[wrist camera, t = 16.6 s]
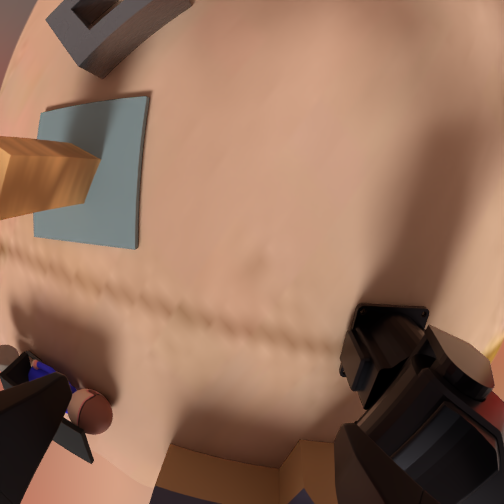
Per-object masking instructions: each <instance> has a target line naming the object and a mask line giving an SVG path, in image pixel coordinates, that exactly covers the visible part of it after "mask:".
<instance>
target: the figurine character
mask: <svg viewBox="0 0 504 504" xmlns="http://www.w3.org/2000/svg"><path fill="white" fill-rule="evenodd" d="M29 356H30V357H31V358H32V359H34V360H33V361H32V367H31V364H30V360H29ZM0 371H1V373H0V379H1V382H2V384H3V388H4V390H5V389H8V388H11V387H14V386H17V385H20V384H23V383H26V382H29V381H31V380H34V379H37V378H40V377H43V376H45V375H48V374H51V373H53V372H56V371H55V370H54V369H53V368H52V367H50V366H48V365H46V364H44V363H42V361H41V360H40V359H39V358H37V357H36V356H35V355H33V354H32V353H31V352H29V351H26V352H23V353H22V354H21V355H20V356H19V354H18V351H17V350H16V349H15V348H14V347H12V346H10V345H0ZM68 382H69V381H68ZM69 385H70V388H71V391H72V399H71V401H70V403H69V405H68V408H67V410H66V412H65V413H67V414H68V416H69V418H70V420H71V422H70V421H68V420H67V419H65V418H64V417H63V419H62V422H61V424H60V426H59V428H58V430H57V432H56V434H55V436H54V438H53V441H55V442H56V443H58V444H59V445H61V446H62V447H64V448H65V449H67V450H69V451H70V452H72V453H73V454H75V455H77V456H78V457H80V458H82V459H84V460H85V461H87V462H89V463H91V464H92V463H93V461H94V459H93V456H92V453H91V450H90V447H89V444H88V441H87V438H86V435H85V433H87V434H92V435H96V434H100V433H103V432H104V431H106V430H107V429H108V428H109V426H110V425H111V422H112V417H113V413H112V409H111V406H110V404H109V402H108V401H107V399H106V398H105V397H104V396H103V395H102V394H100V393H99V392H97V391H95V390H92V389H80V390H78V391H77V390H76V388H75V387H73V386H72V385H71V384H70V382H69Z"/></svg>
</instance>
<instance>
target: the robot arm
mask: <svg viewBox="0 0 504 504" xmlns="http://www.w3.org/2000/svg"><path fill="white" fill-rule="evenodd" d="M362 309H365V311H364V312H362V313H361V312H360V311H361V310H362ZM423 312H424V314H423V315H422V313H423ZM428 316H429V310H428V309H427V308H426V307H420V306H399V305H382V304H366V303H362V304H359V305H358V306H357V308H356V310H355V315H354V319H353V322H352V326H351V329H350V330H349V331H347V334H346V338H345V341H344V345H343V348H342V352H341V355H340V360H341V365H340V368H339V373H340V375H341V376H342V377H347V380H348V383H349V386H350V388H351V390H352V391H358V394H359V397H360V400H361V402H362V405H363V408H364V409H365V410H367V411H366V412H365V413H364V414H363V416H362V417H361V418H360V419H359V420H358V421H355V422H354V423H345V424H342V425H341V427H340V429H339V432H338V434H337V436H336V438H335V441H334V465H335V488H336V495H337V502H338V504H504V402H503V401H502V400H501V399H500V398H499V397H498V396H497V395H496V394H495V393H494V392H493V391H492V389H493V388H494V380H493V375H492V370H491V365H490V361H489V360H488V359H487V358H486V357H485V356H484V355H483V354H481V353H480V352H479V351H478V350H477V349H476V348H474V347H473V346H472V345H471V344H469V343H467V342H465V341H463V340H461V339H459V338H457V337H455V336H453V335H450V334H448V333H446V332H444V331H442V330H440V329H438V328H435V327H433V326H431V325H428V327H427V328H426V330H425V329H424V328H425V325H426V322H427V319H428ZM343 371H345V372H343ZM71 399H72V391H71V388H70V385H69V382H68V379H67V377H66V375H64V374H61V373H59V372H53V373H51V374H48V375H45V376H43V377H40V378H37V379H34V380H31V381H29V382H26V383H23V384H20V385H17V386H14V387H11V388H8V389H5V390H2V391H0V504H20V503H21V501H22V499H23V496H24V494H25V492H26V490H27V488H28V486H29V484H30V482H31V480H32V478H33V476H34V474H35V472H36V470H37V468H38V466H39V464H40V462H41V460H42V458H43V456H44V454H45V453H46V451H47V449H48V447H49V445H50V443H51V441H52V440H53V438H54V436H55V434H56V432H57V430H58V428H59V426H60V424H61V422H62V419H63V417H64V415H65V412H66V410H67V408H68V405H69V403H70V401H71Z"/></svg>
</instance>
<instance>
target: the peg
mask: <svg viewBox="0 0 504 504" xmlns="http://www.w3.org/2000/svg"><path fill="white" fill-rule="evenodd" d="M100 161H101V159H99V158H97V157H95V156H94V155H92V154H90V153H88V152H86V151H84V150H83V149H81V148H79V147H77V146H75V145H73V144H72V143H66V142H58V141H49V140H40V139H30V138H18V137H4V136H0V220H3V219H8V218H12V217H16V216H21V215H25V214H30V213H35V212H40V211H45V210H50V209H55V208H61V207H66V206H72V205H78V204H84V202H85V199H86V197H87V194H88V191H89V189H90V186H91V183H92V181H93V178H94V176H95V173H96V171H97V168H98V166H99V164H100Z"/></svg>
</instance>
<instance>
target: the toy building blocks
mask: <svg viewBox="0 0 504 504" xmlns="http://www.w3.org/2000/svg"><path fill="white" fill-rule="evenodd" d="M149 504H338V502H337V495H336V488H335V465H334V443H328V442H318V441H309V440H301V439H300V440H299V442H298V443H297V445H296V446H295V448H294V449H293V450H292V452H291V453H290V455H289V456H288V457H287V459H286V460H285V462H284V463H283V464H282V466H281V467H280V468H279V469H278V468H271V467H264V466H258V465H252V464H246V463H241V462H236V461H232V460H227V459H223V458H218V457H214V456H210V455H206V454H203V453H199V452H195V451H192V450H189V449H185V448H182V447H179V446H176V445H173V444H170V446H169V448H168V451H167V454H166V456H165V459H164V462H163V465H162V467H161V470H160V473H159V476H158V478H157V481H156V484H155V487H154V490H153V493H152V497H151V500H150V503H149Z"/></svg>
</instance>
